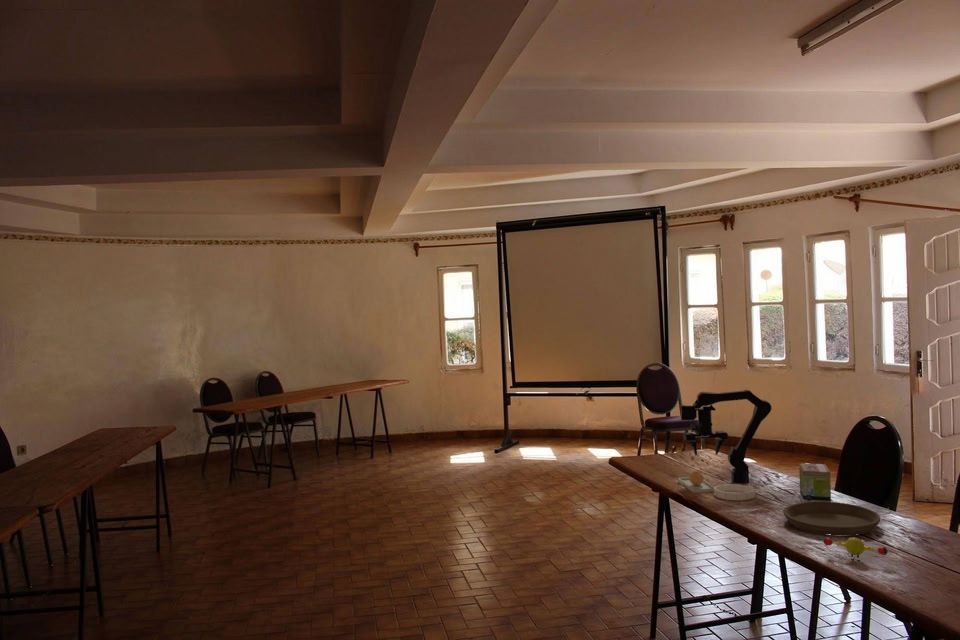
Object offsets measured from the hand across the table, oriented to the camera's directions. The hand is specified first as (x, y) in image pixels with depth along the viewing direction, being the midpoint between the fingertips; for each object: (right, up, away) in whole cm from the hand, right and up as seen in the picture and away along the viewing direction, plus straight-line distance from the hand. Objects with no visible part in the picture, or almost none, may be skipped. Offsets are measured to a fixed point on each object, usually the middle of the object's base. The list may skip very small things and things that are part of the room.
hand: (706, 455), depth 324 cm
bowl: (+4, -13, -25) cm, 28 cm away
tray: (-6, -13, -7) cm, 16 cm away
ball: (-6, -12, -7) cm, 15 cm away
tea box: (+30, -12, -40) cm, 52 cm away
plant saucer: (+24, -13, -67) cm, 72 cm away
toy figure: (+14, -13, -102) cm, 103 cm away
